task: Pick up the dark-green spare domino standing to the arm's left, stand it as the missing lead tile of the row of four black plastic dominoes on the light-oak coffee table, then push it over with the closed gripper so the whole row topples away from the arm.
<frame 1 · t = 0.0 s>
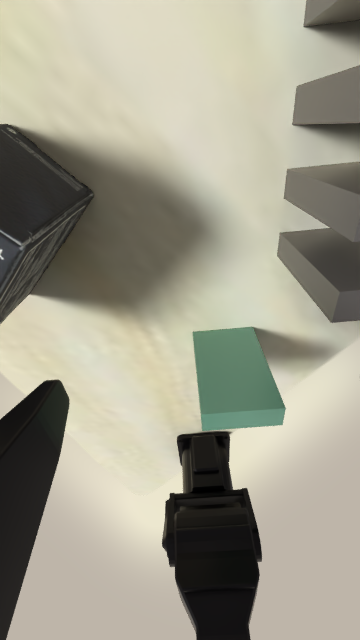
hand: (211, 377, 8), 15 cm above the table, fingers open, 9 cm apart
tile 2: (315, 241, 21), on the table
tile 3: (326, 179, 19), on the table
small box: (19, 220, 20), on the table
tile 4: (341, 100, 16), on the table
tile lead: (222, 337, 26), on the table
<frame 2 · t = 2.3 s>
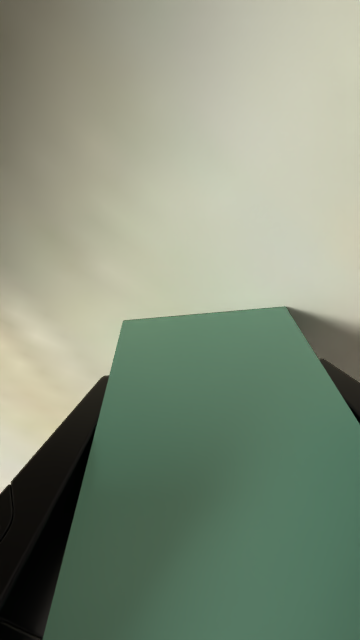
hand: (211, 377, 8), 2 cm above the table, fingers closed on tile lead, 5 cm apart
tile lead: (204, 334, 10), on the table, touching gripper
when the fingers open (3 cm above the table, at t = 5.9 s): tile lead stays where it is, on the table.
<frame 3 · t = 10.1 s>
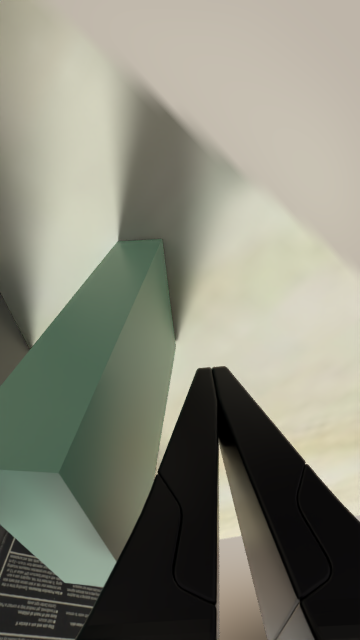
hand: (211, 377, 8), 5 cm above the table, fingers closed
small box: (67, 512, 25), on the table
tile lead: (150, 300, 13), on the table, tilted 7°
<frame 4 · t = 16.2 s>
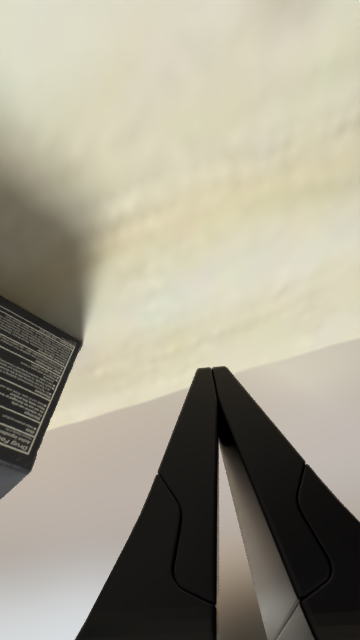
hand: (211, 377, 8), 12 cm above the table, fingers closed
small box: (6, 331, 22), on the table
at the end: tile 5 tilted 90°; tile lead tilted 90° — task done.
